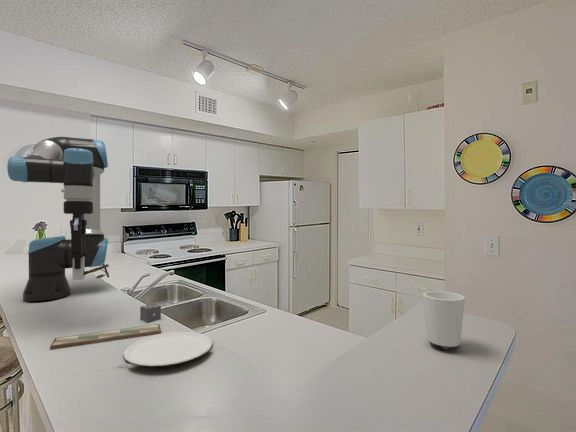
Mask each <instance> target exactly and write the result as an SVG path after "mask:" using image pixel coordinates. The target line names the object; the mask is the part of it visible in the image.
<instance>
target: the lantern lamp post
mask: <svg viewBox="0 0 576 432" xmlns="http://www.w3.org/2000/svg"><path fill="white" fill-rule="evenodd" d="M109 266H110V265H109V264H107V263H104V264H103V265H102V266H97V267H93V268H91V269H89V270H86V271H85V272H84V275H85V276H86V275H88V274H92V273H95V272H98V271H102V272H104V273H103V274H102V273H101V274H99V275H97V276H95V277H96V279H101V278H104V277H105V276H106V277H107V278H110V275H109V272H108V270H107V268H108V267H109Z"/></svg>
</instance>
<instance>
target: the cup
mask: <svg viewBox="0 0 576 432" xmlns="http://www.w3.org/2000/svg"><path fill="white" fill-rule="evenodd" d="M422 299H423V300H422V301H423V308H424V317H425V318H424V319H425V328H426V337H427V340H428V343H429V344H430V346H433V347H436V346H439V347H440V348H441V349H443V350H449V348H452V349H459V348H460V346H461V339H462V332H463V331H462V330H463V320H464V310H465V301H466V297H465V296H464V295H462V294H460V293H456V292H452V291H451V292H450V291H442V290H441V291H440V290H439V291H438V290H432V291H426V292H423V293H422Z"/></svg>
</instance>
